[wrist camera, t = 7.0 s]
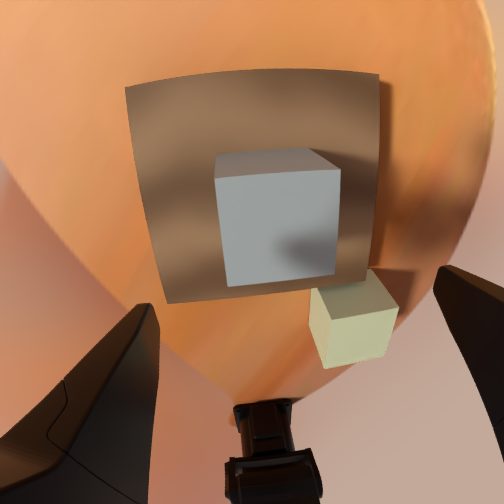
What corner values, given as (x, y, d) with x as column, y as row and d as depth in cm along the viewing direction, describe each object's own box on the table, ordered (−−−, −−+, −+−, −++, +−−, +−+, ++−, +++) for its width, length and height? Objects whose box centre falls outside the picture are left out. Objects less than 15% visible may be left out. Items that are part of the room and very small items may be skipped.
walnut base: (355, 266, 22) (365, 280, 21) (170, 287, 22) (167, 304, 20) (364, 75, 16) (379, 74, 14) (134, 88, 15) (124, 87, 13)
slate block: (307, 229, 18) (334, 274, 14) (225, 237, 18) (227, 286, 14) (307, 147, 16) (340, 169, 11) (216, 154, 16) (214, 178, 11)
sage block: (362, 315, 25) (384, 355, 21) (308, 324, 25) (324, 369, 21) (371, 268, 23) (399, 307, 19) (311, 276, 23) (331, 319, 18)
